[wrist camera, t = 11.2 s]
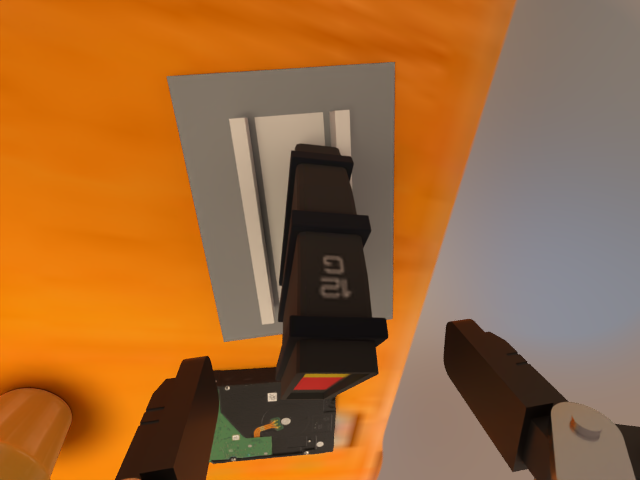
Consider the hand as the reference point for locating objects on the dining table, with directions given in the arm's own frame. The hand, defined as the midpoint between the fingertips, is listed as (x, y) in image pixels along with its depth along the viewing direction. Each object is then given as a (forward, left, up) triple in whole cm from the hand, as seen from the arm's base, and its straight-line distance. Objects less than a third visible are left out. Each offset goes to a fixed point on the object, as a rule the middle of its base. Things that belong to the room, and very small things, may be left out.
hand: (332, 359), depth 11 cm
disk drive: (+21, -6, -19) cm, 28 cm away
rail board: (0, 0, -18) cm, 18 cm away
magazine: (0, +1, -16) cm, 16 cm away
